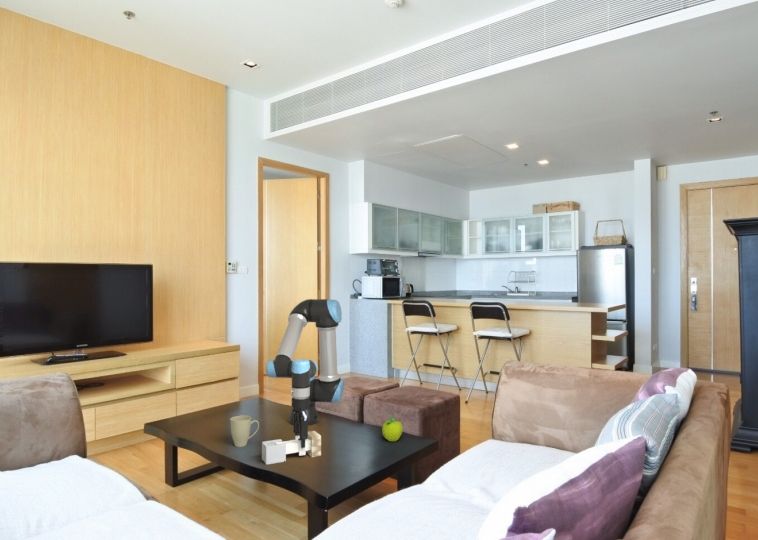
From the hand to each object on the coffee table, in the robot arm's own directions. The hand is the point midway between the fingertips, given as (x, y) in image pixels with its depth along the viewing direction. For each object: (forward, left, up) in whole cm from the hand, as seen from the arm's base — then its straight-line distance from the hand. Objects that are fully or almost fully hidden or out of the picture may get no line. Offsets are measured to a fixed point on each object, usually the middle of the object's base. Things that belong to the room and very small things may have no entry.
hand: (300, 453), depth 204 cm
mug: (+18, -25, -1) cm, 31 cm away
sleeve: (+11, 0, -1) cm, 11 cm away
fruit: (-44, +1, -1) cm, 44 cm away
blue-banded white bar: (+2, 0, +1) cm, 3 cm away
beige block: (-6, 0, -1) cm, 6 cm away
